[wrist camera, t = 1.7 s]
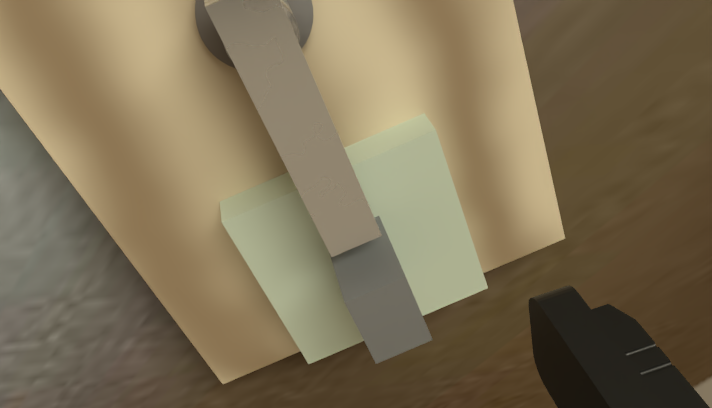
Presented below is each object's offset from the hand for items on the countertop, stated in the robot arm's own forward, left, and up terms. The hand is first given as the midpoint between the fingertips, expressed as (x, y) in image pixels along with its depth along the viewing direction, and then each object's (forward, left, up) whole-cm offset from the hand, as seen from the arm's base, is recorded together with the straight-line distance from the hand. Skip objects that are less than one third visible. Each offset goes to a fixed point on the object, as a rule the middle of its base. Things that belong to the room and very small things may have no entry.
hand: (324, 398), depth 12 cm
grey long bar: (-1, +1, -15) cm, 15 cm away
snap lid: (-1, +9, -16) cm, 18 cm away
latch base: (-1, +3, -19) cm, 19 cm away
